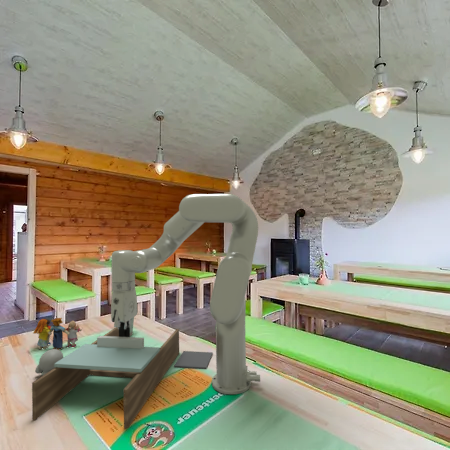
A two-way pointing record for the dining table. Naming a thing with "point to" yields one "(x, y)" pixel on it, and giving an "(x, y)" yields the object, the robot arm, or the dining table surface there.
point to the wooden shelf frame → (133, 393)
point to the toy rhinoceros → (48, 361)
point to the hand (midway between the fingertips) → (124, 339)
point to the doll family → (56, 333)
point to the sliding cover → (111, 355)
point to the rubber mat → (194, 360)
